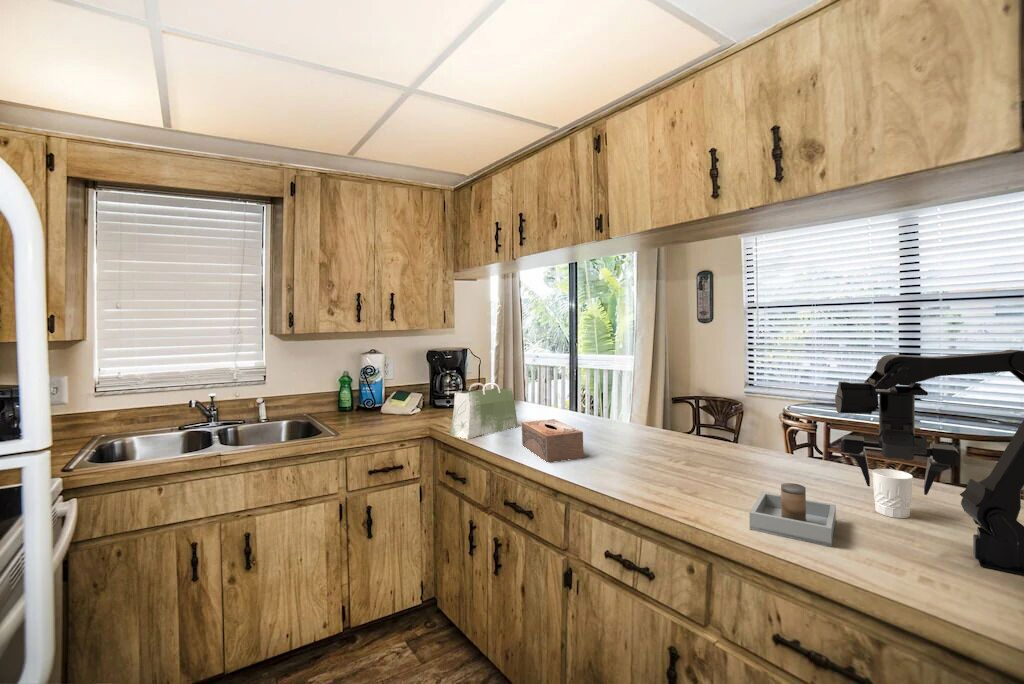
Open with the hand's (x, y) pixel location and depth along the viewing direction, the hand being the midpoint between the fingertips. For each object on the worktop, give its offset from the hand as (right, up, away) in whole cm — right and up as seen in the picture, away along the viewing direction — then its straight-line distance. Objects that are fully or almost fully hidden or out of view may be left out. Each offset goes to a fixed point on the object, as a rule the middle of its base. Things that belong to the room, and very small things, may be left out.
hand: (896, 490), depth 99 cm
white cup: (+15, -12, +20) cm, 27 cm away
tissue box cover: (-65, -12, +85) cm, 108 cm away
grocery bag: (-93, -11, +124) cm, 155 cm away
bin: (-13, -13, +14) cm, 23 cm away
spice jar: (-13, -12, +14) cm, 23 cm away
